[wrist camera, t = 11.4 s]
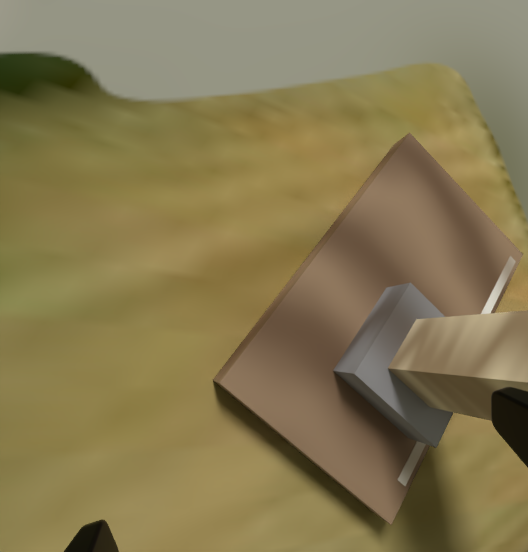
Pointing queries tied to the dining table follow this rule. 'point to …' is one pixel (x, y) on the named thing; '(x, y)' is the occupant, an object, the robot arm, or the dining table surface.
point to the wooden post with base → (433, 362)
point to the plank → (354, 311)
